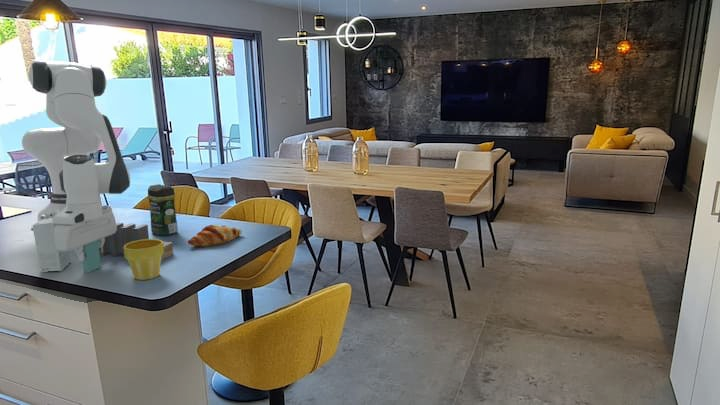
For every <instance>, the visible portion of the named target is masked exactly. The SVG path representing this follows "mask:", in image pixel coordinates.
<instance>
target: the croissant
mask: <svg viewBox="0 0 720 405" xmlns="http://www.w3.org/2000/svg"><path fill="white" fill-rule="evenodd" d="M242 233H243V230H242V229H241V228H240V229H239V228H237V227H230V226H228V225H221V226H219V225H217V224H210V225H205V226H204V227H203V228H202V229H201V231H199V232H197V233H196V235H194V236H192V237H191V238H190V239H188V240H187V243H188V245H190V246H194V247H202V248H203V247H204V248H205V247H212V246H214V247H215V246H219V245H223V243H224V244H227V243H228V242H230V241H232V240H235V239H236V238H238V237H240V236H242Z"/></svg>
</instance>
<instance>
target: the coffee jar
mask: <svg viewBox="0 0 720 405" xmlns="http://www.w3.org/2000/svg"><path fill="white" fill-rule="evenodd" d="M175 193H176V192H175V189H174V187H172V186H169V185H164V184H163V185H162V184H153V185H150V186H149V187H148V188H147V197H148V202H149V213H150V215H149V216H150V228H151V229H150V231H151V233H152V234H155V235H158V236H161V237H163V236H172V235H174V234H176V233H178V232H179V231H178V221H177V214H176V205H175V200H176V199H175V198H176V194H175Z"/></svg>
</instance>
